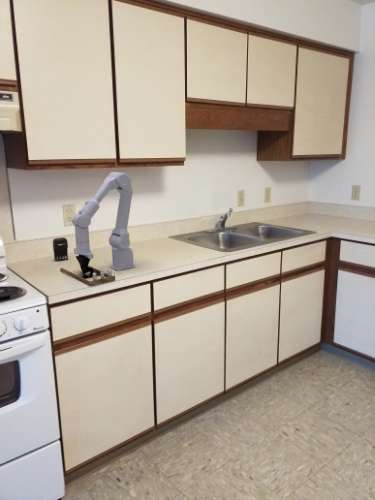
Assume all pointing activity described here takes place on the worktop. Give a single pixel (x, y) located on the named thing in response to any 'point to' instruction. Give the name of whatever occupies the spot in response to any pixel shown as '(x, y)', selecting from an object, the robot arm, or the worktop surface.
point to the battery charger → (60, 249)
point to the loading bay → (95, 280)
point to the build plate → (86, 270)
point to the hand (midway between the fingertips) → (84, 271)
